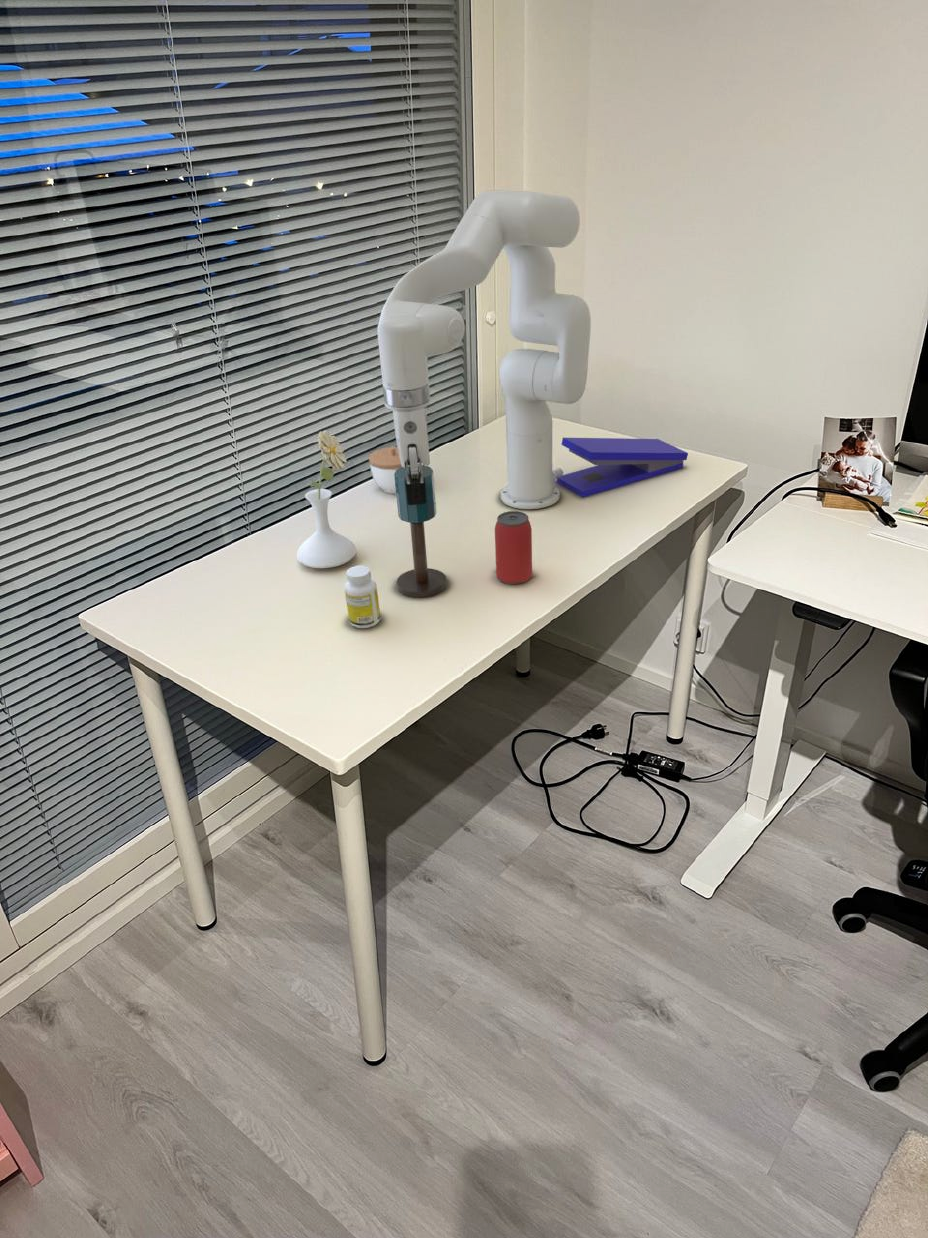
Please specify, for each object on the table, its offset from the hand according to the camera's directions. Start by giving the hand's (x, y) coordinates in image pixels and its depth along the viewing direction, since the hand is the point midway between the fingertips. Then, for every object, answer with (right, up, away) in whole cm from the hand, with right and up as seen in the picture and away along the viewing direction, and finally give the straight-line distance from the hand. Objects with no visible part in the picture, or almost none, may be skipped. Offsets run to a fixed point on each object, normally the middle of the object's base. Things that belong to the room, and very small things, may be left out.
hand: (415, 493), depth 165 cm
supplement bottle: (-9, -22, 0) cm, 24 cm away
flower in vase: (-18, -10, +20) cm, 29 cm away
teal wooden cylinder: (0, -3, +2) cm, 4 cm away
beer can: (+18, -14, +10) cm, 25 cm away
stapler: (+44, +10, +48) cm, 65 cm away
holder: (+1, -15, +9) cm, 18 cm away
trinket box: (-7, +7, +48) cm, 49 cm away
